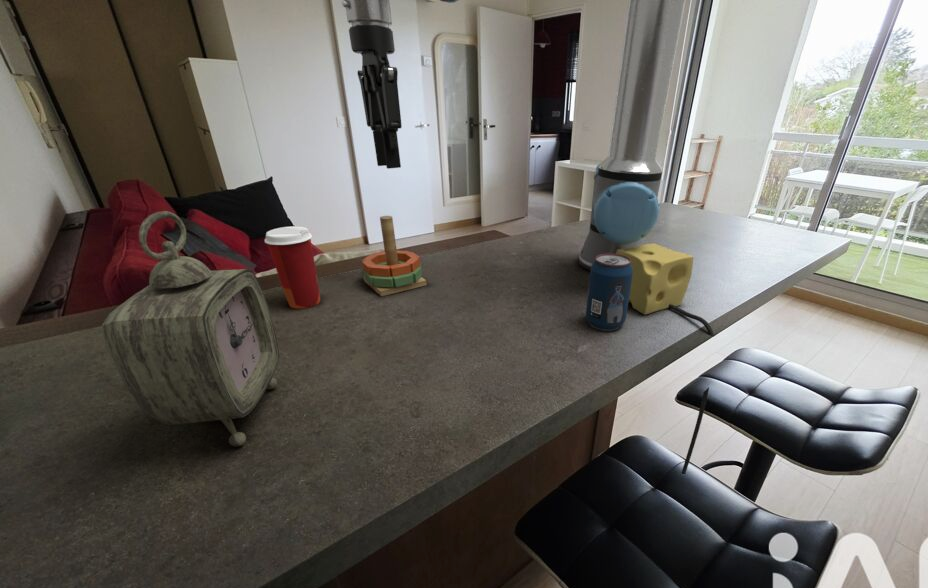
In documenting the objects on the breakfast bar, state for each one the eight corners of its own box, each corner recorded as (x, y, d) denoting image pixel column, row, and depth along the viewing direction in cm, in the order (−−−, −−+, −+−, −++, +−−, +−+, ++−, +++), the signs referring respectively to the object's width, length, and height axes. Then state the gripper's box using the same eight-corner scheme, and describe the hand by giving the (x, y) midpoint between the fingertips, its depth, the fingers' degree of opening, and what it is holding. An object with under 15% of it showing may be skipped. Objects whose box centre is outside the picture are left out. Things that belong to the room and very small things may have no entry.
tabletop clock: (250, 456, 46) (160, 232, 34) (159, 466, 44) (31, 237, 32) (290, 379, 58) (234, 196, 46) (220, 385, 57) (144, 199, 45)
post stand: (426, 285, 88) (420, 218, 81) (381, 296, 83) (370, 226, 76) (407, 271, 95) (399, 209, 88) (364, 281, 90) (352, 215, 83)
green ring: (429, 279, 87) (429, 271, 86) (378, 291, 81) (376, 283, 81) (407, 264, 95) (406, 256, 94) (359, 274, 89) (357, 266, 88)
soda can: (599, 310, 78) (607, 249, 72) (632, 323, 74) (642, 259, 68) (577, 322, 74) (583, 258, 68) (610, 337, 69) (619, 269, 64)
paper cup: (333, 295, 83) (318, 226, 77) (313, 312, 77) (295, 238, 70) (296, 293, 84) (278, 224, 77) (273, 310, 77) (251, 236, 71)
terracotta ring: (427, 269, 87) (426, 261, 86) (374, 280, 82) (373, 272, 81) (406, 255, 95) (406, 247, 94) (357, 264, 90) (356, 256, 89)
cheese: (644, 316, 76) (653, 264, 71) (607, 294, 84) (613, 247, 80) (685, 305, 80) (696, 256, 76) (645, 286, 89) (653, 240, 84)
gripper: (334, 30, 77) (356, 163, 89) (367, 17, 66) (388, 173, 77) (373, 34, 81) (389, 161, 93) (410, 22, 70) (425, 169, 81)
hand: (389, 166), depth 85 cm, fingers open, 4 cm apart
